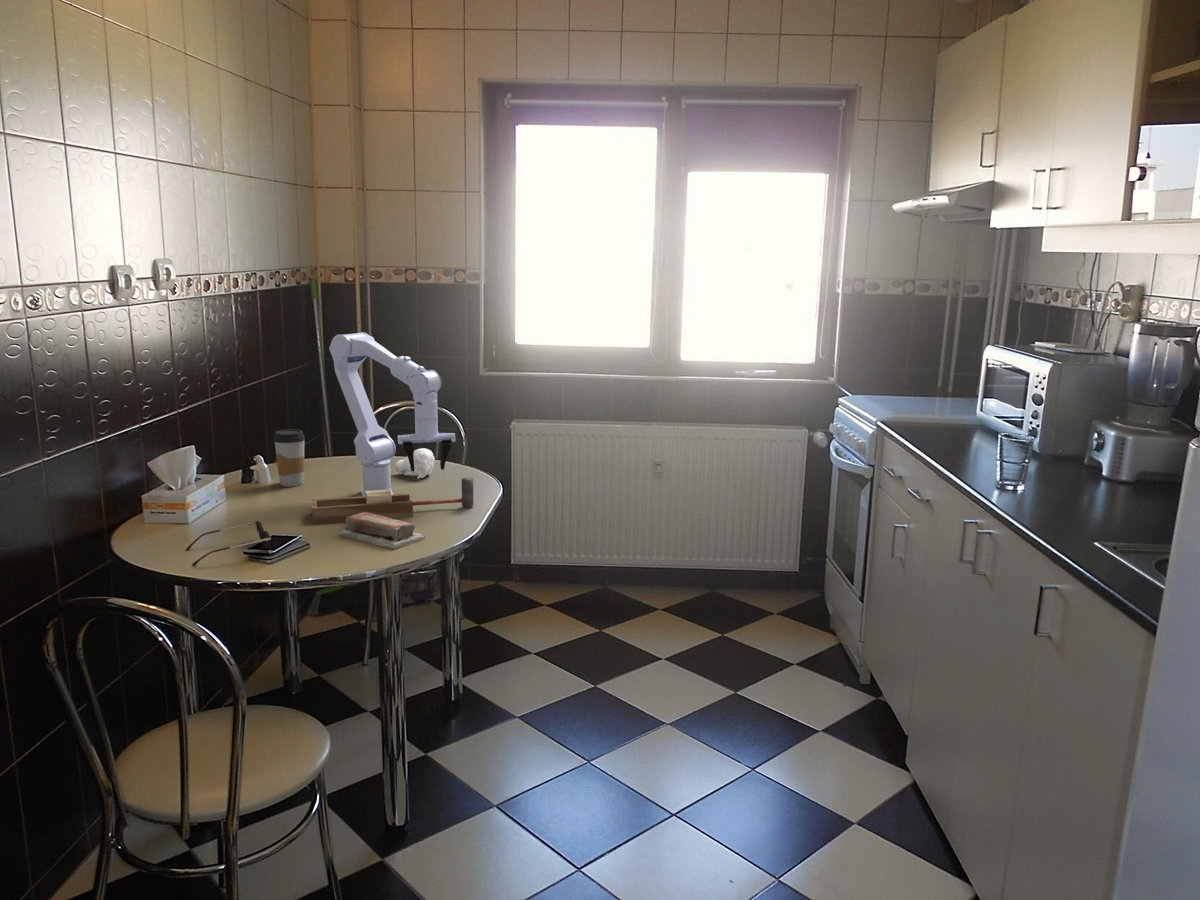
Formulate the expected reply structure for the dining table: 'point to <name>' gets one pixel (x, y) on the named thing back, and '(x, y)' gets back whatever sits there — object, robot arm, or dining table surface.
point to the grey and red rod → (466, 500)
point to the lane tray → (360, 508)
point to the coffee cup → (290, 456)
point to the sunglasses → (262, 535)
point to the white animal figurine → (417, 463)
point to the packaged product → (380, 530)
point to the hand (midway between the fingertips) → (427, 469)
